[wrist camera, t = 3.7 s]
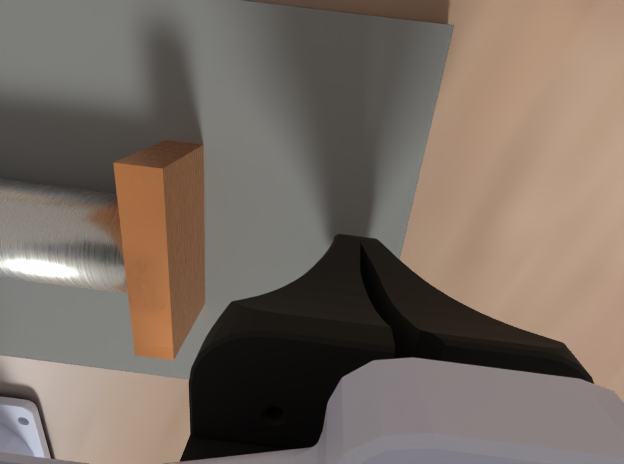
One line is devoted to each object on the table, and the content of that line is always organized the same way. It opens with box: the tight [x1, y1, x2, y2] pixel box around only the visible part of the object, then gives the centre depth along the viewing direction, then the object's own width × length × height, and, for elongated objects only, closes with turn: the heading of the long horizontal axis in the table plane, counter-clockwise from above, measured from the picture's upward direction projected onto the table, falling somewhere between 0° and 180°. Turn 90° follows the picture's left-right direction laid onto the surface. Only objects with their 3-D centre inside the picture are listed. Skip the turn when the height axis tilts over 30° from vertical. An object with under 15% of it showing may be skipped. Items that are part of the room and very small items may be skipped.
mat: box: [0, 0, 454, 379], centre depth 13 cm, size 14×26×1 cm, turn 84°
